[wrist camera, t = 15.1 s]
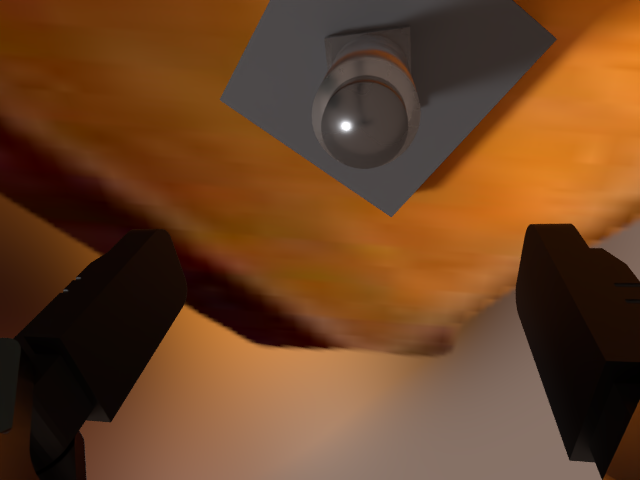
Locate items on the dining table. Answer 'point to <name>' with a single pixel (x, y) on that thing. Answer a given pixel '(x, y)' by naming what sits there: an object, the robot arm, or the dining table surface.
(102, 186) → the dining table surface
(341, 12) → the slate block
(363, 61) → the salt shaker
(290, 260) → the dining table surface
